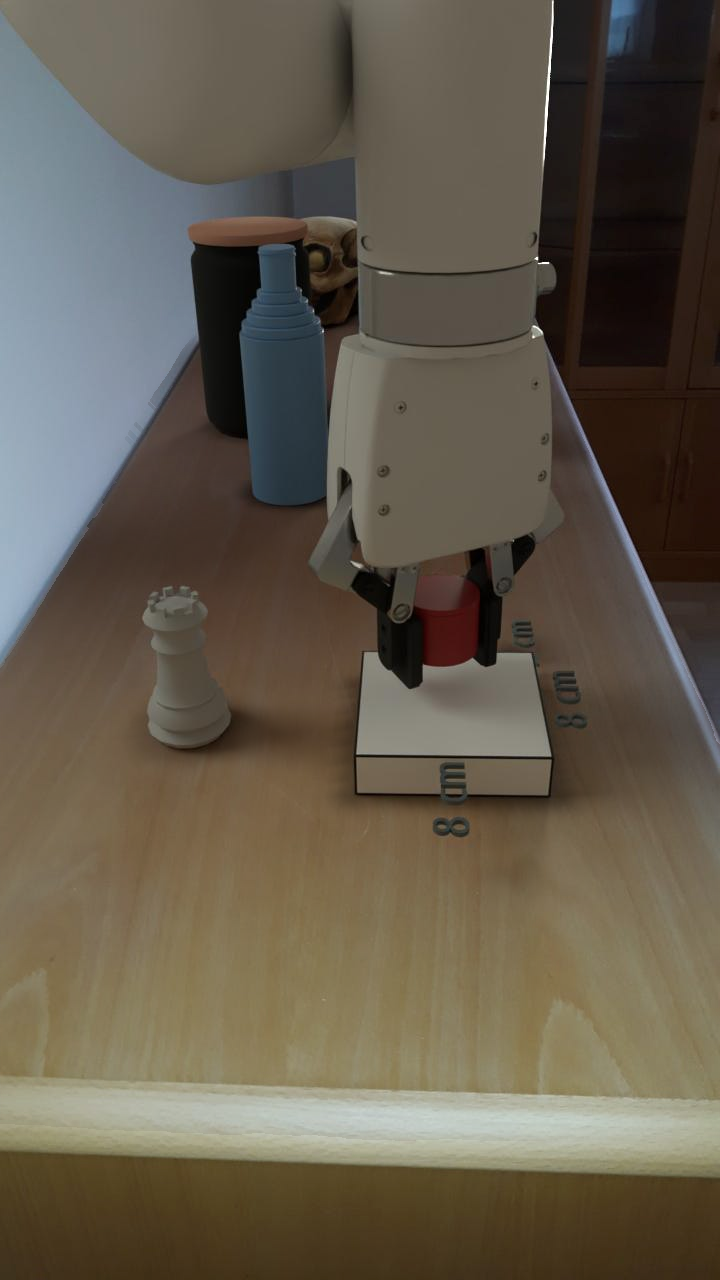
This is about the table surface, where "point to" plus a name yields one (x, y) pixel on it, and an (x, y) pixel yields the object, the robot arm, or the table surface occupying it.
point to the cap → (448, 619)
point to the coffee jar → (234, 302)
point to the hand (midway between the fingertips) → (439, 661)
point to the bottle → (284, 386)
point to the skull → (332, 267)
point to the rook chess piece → (183, 673)
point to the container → (459, 730)
